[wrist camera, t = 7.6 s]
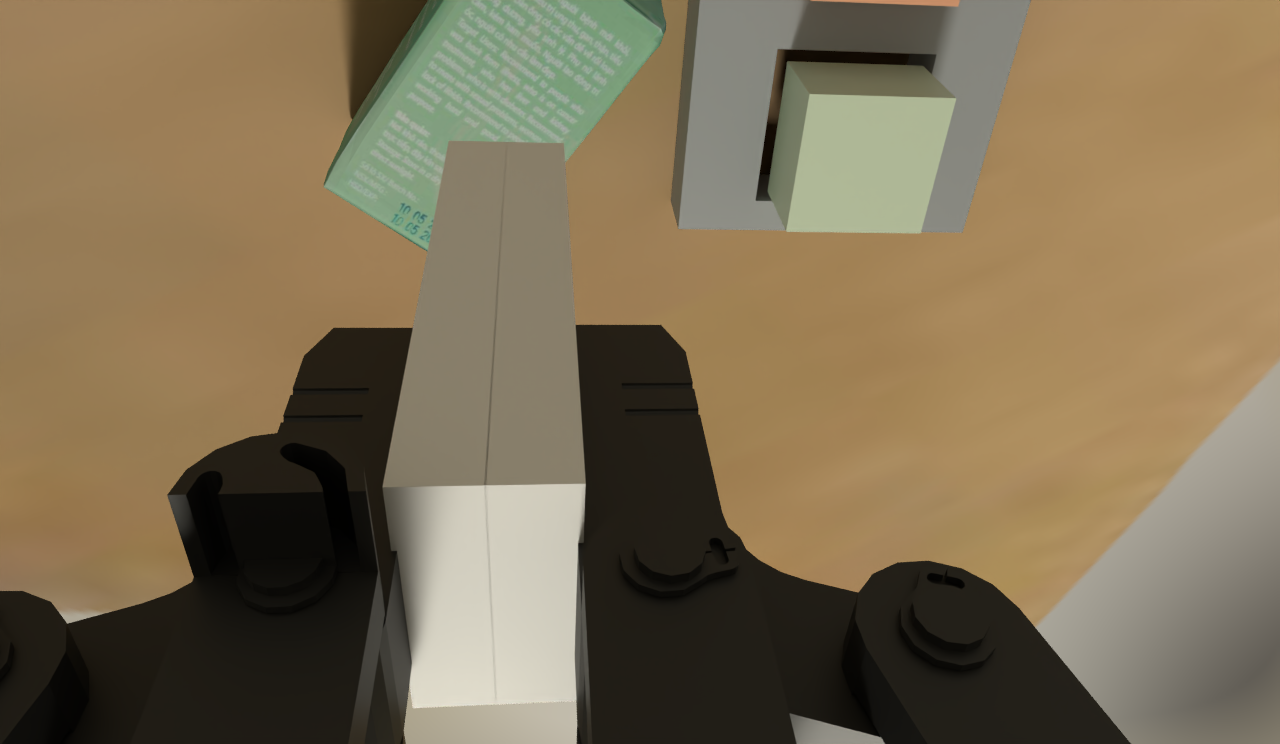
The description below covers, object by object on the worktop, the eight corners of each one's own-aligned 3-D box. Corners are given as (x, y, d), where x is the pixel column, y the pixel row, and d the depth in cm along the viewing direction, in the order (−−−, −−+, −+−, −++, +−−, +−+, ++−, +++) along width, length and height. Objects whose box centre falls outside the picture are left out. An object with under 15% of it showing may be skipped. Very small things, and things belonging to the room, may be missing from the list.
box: (657, -22, 40) (676, 29, 34) (483, 208, 46) (474, 286, 40) (515, -141, 37) (509, -109, 31) (347, 121, 43) (315, 192, 37)
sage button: (767, 191, 43) (786, 231, 40) (787, 61, 40) (809, 94, 36) (892, 193, 44) (920, 233, 41) (922, 65, 40) (956, 98, 37)
